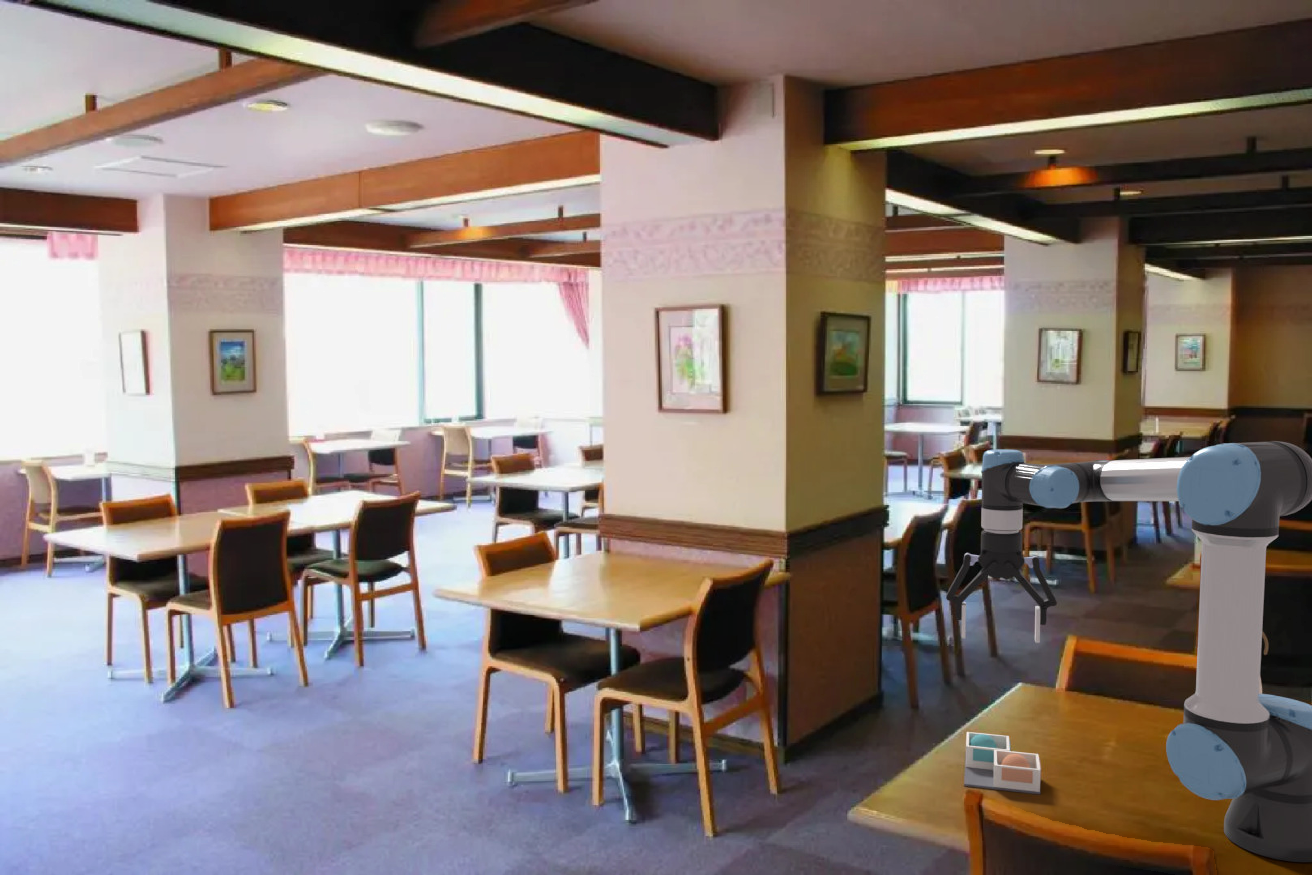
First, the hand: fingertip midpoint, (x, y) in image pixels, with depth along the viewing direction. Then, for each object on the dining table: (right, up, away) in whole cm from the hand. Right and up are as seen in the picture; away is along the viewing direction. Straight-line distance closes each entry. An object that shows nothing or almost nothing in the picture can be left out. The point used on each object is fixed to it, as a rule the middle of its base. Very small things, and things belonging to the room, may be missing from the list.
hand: (1000, 639), depth 210 cm
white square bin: (-4, -23, -4) cm, 24 cm away
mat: (-2, -23, -8) cm, 25 cm away
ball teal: (-4, -20, -3) cm, 21 cm away
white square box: (-1, -24, -13) cm, 27 cm away
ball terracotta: (-1, -21, -13) cm, 25 cm away
